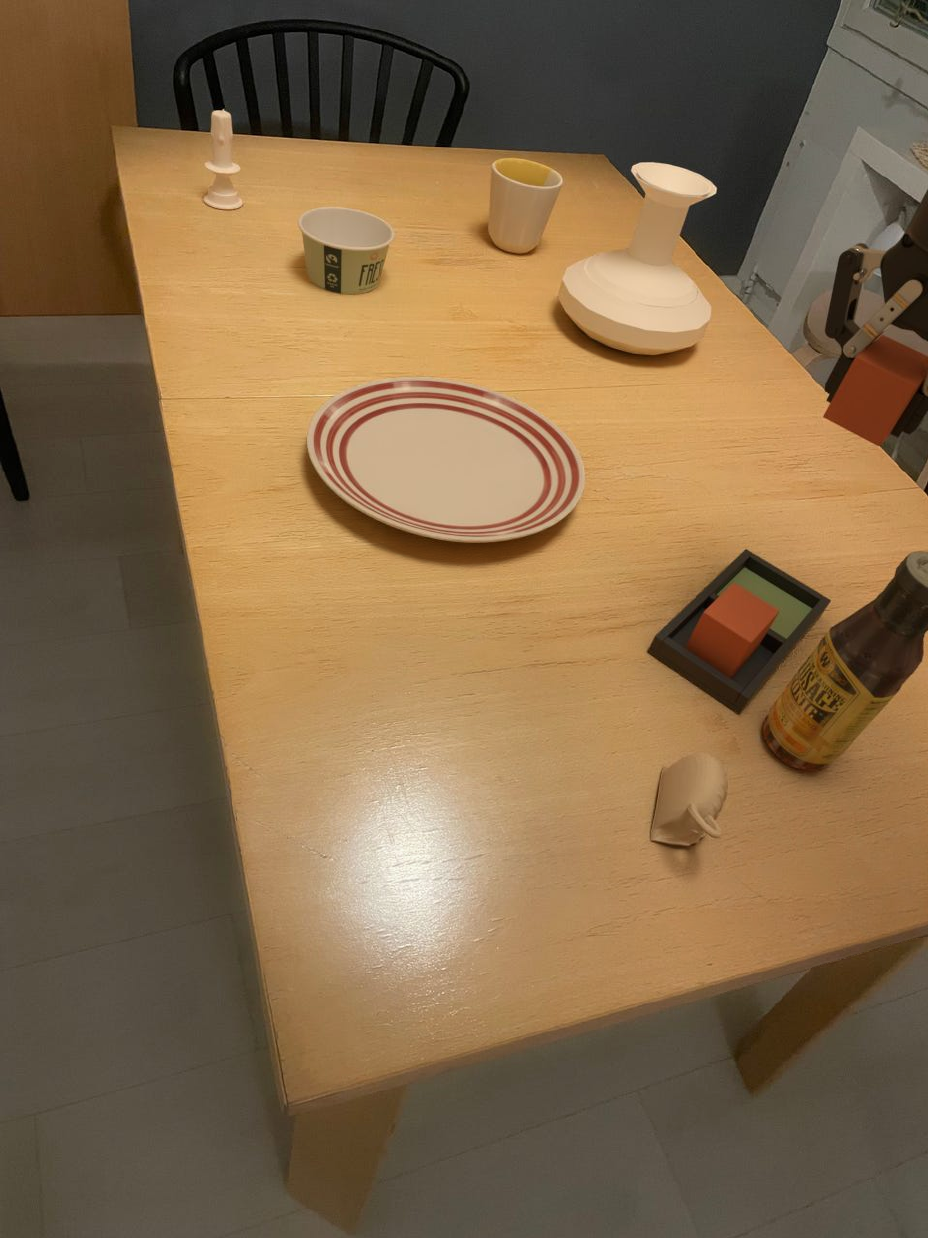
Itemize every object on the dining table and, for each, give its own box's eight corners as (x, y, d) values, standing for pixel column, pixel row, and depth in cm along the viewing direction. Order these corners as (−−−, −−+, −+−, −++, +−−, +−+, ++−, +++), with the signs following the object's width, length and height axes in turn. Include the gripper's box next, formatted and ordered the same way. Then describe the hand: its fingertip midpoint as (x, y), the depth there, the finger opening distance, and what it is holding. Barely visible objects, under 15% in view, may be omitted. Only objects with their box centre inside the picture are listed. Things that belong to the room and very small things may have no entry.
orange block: (903, 420, 66) (940, 361, 62) (878, 446, 63) (916, 385, 59) (849, 393, 68) (882, 334, 64) (822, 417, 64) (855, 355, 61)
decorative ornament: (714, 785, 66) (742, 743, 62) (700, 878, 60) (729, 839, 57) (663, 765, 67) (687, 723, 63) (644, 856, 61) (669, 815, 57)
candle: (249, 200, 125) (248, 108, 116) (233, 213, 121) (232, 118, 113) (213, 190, 125) (210, 97, 117) (196, 203, 121) (192, 107, 113)
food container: (317, 247, 118) (320, 197, 113) (401, 272, 117) (407, 223, 113) (280, 281, 110) (282, 229, 105) (370, 308, 109) (376, 257, 104)
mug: (550, 265, 127) (568, 190, 120) (481, 255, 125) (495, 179, 118) (539, 226, 137) (555, 155, 129) (474, 216, 135) (487, 144, 128)
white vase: (709, 381, 111) (773, 228, 97) (555, 354, 109) (598, 194, 95) (686, 308, 125) (739, 166, 111) (549, 283, 123) (586, 135, 109)
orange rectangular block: (755, 650, 77) (780, 610, 73) (727, 682, 73) (751, 642, 70) (712, 622, 78) (733, 581, 75) (682, 652, 75) (703, 611, 71)
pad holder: (821, 615, 82) (831, 600, 81) (738, 715, 72) (749, 699, 70) (737, 564, 86) (746, 548, 84) (647, 652, 75) (654, 635, 73)
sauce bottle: (747, 712, 72) (867, 528, 58) (816, 713, 73) (949, 534, 59) (775, 780, 68) (912, 598, 54) (848, 780, 69) (1000, 603, 55)
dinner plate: (310, 385, 95) (311, 357, 92) (554, 410, 100) (561, 384, 97) (299, 557, 76) (301, 527, 73) (601, 577, 81) (611, 550, 78)
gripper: (876, 142, 53) (759, 387, 65) (1115, 236, 48) (941, 483, 60) (915, 126, 58) (799, 358, 70) (1137, 210, 53) (971, 445, 65)
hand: (866, 415), depth 65 cm, fingers closed on orange block, 4 cm apart
